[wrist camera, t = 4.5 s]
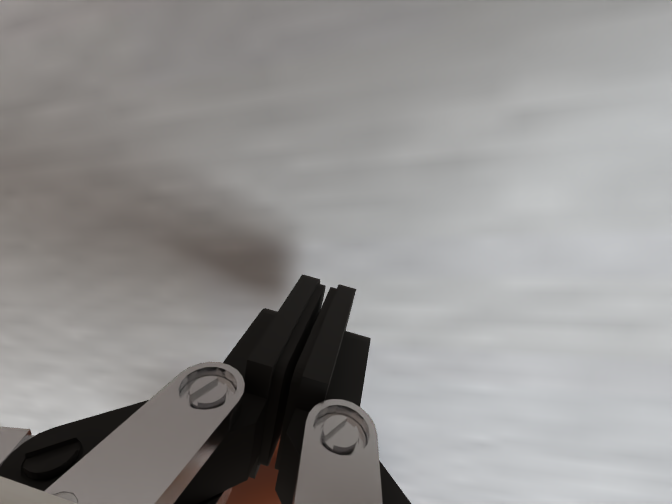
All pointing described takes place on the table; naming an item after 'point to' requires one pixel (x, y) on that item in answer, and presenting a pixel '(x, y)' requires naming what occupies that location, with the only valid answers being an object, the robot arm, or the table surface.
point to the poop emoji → (258, 486)
